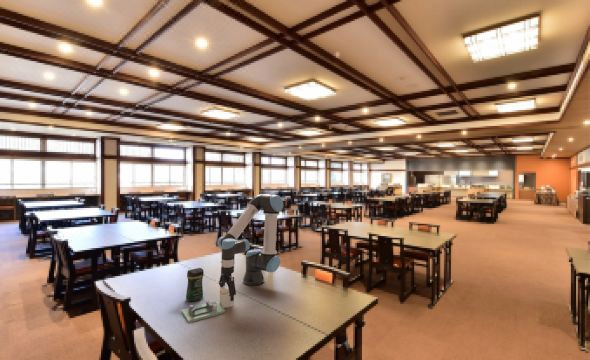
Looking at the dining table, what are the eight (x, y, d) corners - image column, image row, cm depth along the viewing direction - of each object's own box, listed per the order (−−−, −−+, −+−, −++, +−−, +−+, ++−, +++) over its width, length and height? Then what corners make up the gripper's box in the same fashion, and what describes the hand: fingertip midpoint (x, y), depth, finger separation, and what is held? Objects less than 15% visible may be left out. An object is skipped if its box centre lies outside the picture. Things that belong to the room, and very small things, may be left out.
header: (208, 306, 156) (208, 298, 156) (212, 311, 151) (212, 303, 151) (188, 311, 150) (188, 303, 150) (192, 317, 144) (192, 308, 144)
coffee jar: (190, 303, 163) (191, 272, 163) (184, 299, 168) (184, 269, 168) (205, 298, 170) (205, 268, 170) (198, 294, 175) (199, 265, 175)
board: (216, 303, 164) (216, 296, 164) (225, 312, 153) (225, 305, 153) (181, 311, 152) (181, 304, 152) (188, 322, 141) (188, 314, 141)
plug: (230, 302, 165) (231, 285, 165) (233, 305, 162) (234, 288, 162) (219, 305, 161) (219, 288, 161) (222, 308, 158) (222, 291, 158)
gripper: (214, 261, 169) (212, 295, 169) (230, 272, 149) (228, 311, 149) (225, 259, 174) (224, 293, 174) (242, 270, 154) (241, 308, 154)
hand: (226, 301), depth 161 cm, fingers open, 13 cm apart
